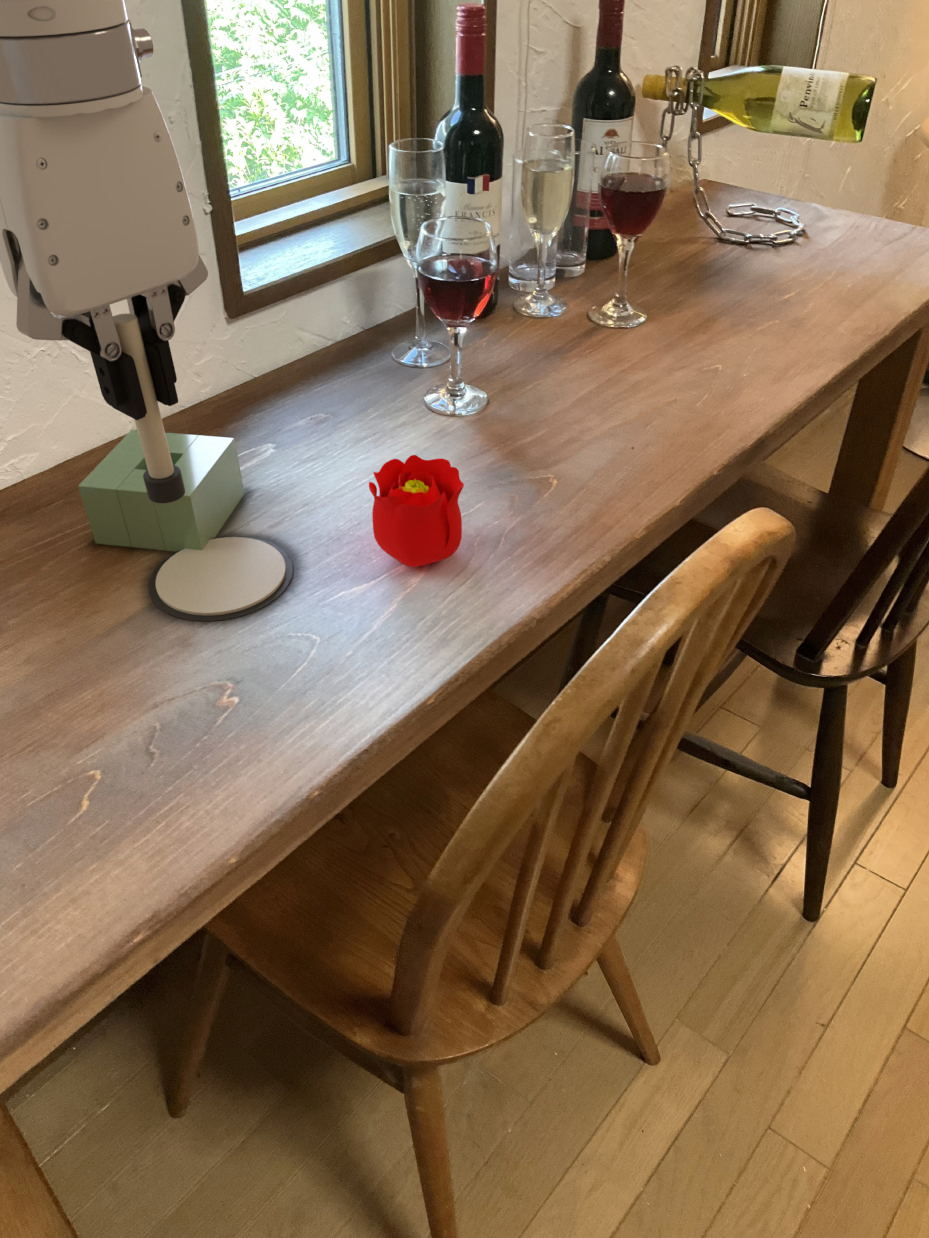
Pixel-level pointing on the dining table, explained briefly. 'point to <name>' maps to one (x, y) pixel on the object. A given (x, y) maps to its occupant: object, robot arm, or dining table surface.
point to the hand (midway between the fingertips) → (144, 403)
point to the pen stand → (173, 526)
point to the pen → (150, 420)
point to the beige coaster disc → (221, 579)
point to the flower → (417, 510)
